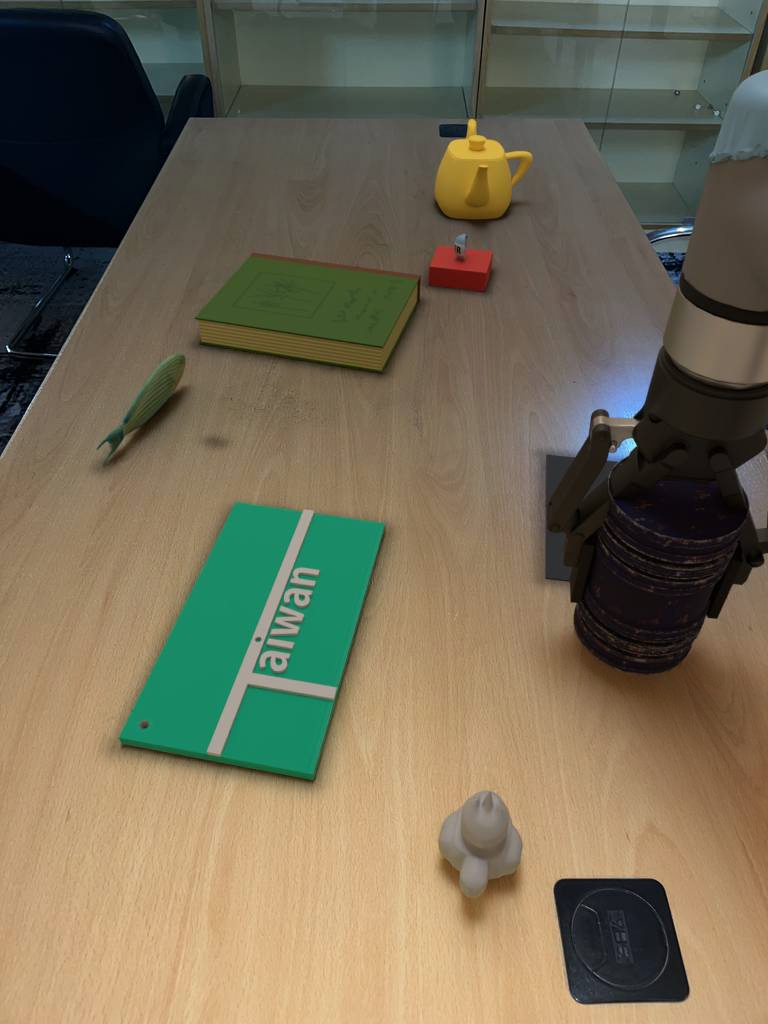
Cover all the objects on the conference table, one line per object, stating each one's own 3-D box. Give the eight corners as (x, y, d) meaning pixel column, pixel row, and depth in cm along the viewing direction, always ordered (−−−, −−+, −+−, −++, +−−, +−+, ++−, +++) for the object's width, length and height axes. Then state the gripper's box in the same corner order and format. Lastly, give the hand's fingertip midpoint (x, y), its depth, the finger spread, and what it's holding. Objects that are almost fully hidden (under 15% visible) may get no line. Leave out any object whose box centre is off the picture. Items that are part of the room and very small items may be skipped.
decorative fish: (95, 433, 80) (189, 475, 80) (176, 332, 91) (258, 369, 91) (95, 474, 85) (183, 512, 85) (171, 373, 96) (249, 408, 96)
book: (419, 300, 111) (420, 275, 108) (382, 373, 98) (382, 346, 95) (250, 276, 116) (247, 251, 113) (193, 343, 103) (189, 316, 100)
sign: (312, 771, 58) (117, 735, 60) (313, 780, 59) (121, 743, 61) (385, 520, 77) (235, 499, 79) (385, 529, 78) (236, 508, 80)
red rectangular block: (428, 284, 114) (430, 242, 110) (437, 263, 119) (439, 221, 115) (484, 291, 113) (488, 248, 109) (491, 269, 118) (495, 227, 113)
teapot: (536, 233, 127) (546, 162, 119) (437, 233, 127) (441, 162, 119) (517, 180, 143) (525, 115, 136) (430, 179, 143) (433, 114, 135)
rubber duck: (523, 826, 56) (539, 767, 51) (508, 922, 52) (524, 869, 46) (447, 806, 57) (455, 746, 52) (426, 898, 53) (432, 844, 47)
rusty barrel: (716, 663, 64) (780, 529, 54) (602, 687, 62) (645, 553, 52) (657, 573, 71) (704, 439, 61) (553, 593, 69) (583, 458, 59)
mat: (703, 596, 72) (703, 595, 72) (545, 578, 73) (545, 577, 73) (680, 468, 85) (680, 467, 85) (546, 455, 86) (546, 454, 86)
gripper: (898, 339, 51) (778, 578, 66) (538, 312, 53) (502, 549, 68) (940, 409, 45) (799, 652, 60) (537, 375, 47) (498, 617, 63)
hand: (641, 597), depth 64 cm, fingers closed on rusty barrel, 10 cm apart
